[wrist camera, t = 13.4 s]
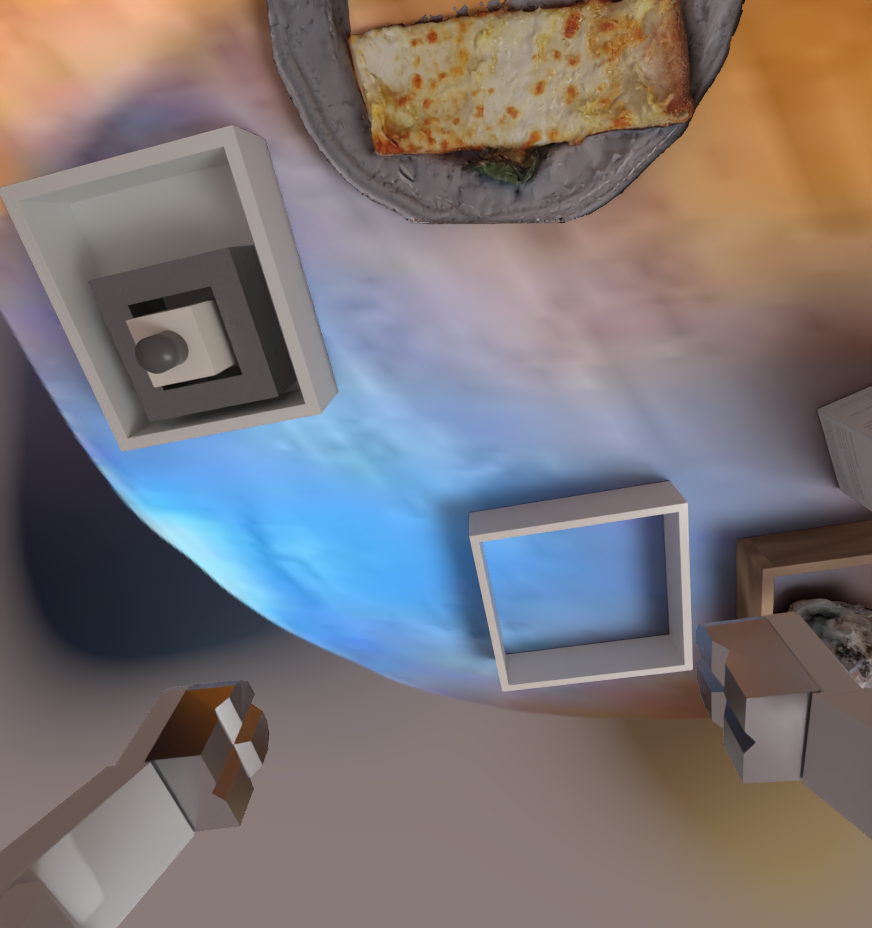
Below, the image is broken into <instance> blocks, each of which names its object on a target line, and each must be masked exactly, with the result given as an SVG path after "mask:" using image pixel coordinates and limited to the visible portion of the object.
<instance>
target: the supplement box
mask: <svg viewBox="0 0 872 928" xmlns="http://www.w3.org/2000/svg"><path fill="white" fill-rule="evenodd" d="M818 414H819V418H820V422H821V425H822V429H823V432H824V435H825V439H826V443H827V446H828V450H829V454H830V457H831V460H832V464H833V468H834V471H835V474H836V478H837V481H838V484H839V487H840V490H841V491H842V492H844V493H845V494H847V495H848V496H850V497H851V498H853V499H854V500H856V501H857V502H859V503H860V504H861V505H863V506H864V507H866V508H867V509H869V510H870V511H872V386H870V387H868V388H866V389H863V390H861V391H859V392H856V393H854V394H852V395H849V396H847V397H845V398H842V399H840V400H838V401H835V402H833V403H831V404H829V405H826V406H824V407H821V408H819V409H818Z"/></svg>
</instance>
